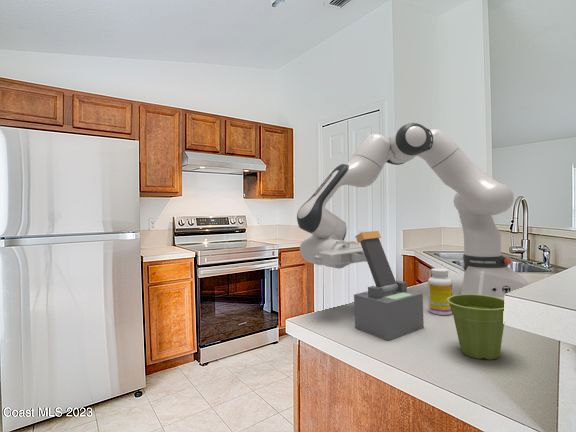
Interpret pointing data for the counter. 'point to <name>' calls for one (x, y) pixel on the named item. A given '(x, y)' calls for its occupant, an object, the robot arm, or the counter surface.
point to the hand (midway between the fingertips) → (370, 258)
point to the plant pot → (478, 324)
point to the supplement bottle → (439, 292)
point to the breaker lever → (377, 261)
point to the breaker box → (389, 311)
